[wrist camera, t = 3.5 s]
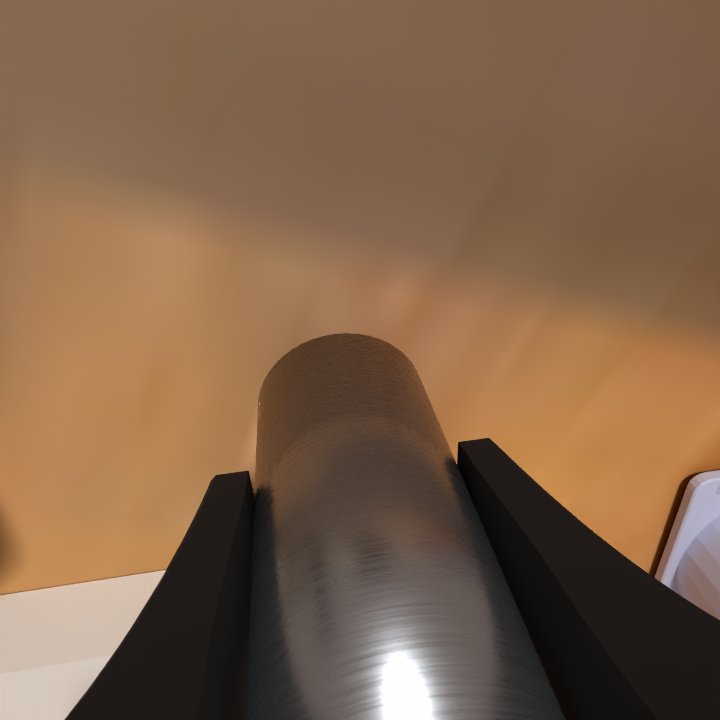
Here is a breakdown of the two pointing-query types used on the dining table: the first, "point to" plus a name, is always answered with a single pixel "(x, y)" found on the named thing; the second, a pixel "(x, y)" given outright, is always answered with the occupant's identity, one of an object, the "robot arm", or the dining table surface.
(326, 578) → the long pin
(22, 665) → the hole plate
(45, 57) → the dining table surface
